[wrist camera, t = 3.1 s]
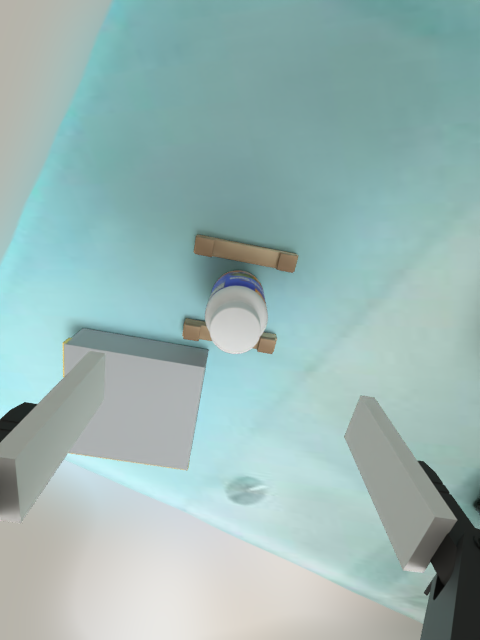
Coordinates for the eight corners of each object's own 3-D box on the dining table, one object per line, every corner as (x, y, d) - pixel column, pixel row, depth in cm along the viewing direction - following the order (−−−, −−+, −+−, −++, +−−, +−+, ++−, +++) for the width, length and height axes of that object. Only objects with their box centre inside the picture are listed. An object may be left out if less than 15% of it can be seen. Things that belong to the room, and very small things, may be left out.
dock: (81, 327, 34) (62, 343, 30) (209, 349, 35) (205, 367, 31) (80, 429, 39) (64, 453, 36) (192, 445, 40) (187, 471, 37)
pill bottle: (273, 287, 33) (286, 321, 23) (244, 327, 34) (246, 373, 25) (229, 258, 31) (225, 283, 22) (202, 301, 33) (187, 340, 24)
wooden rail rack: (197, 234, 31) (195, 236, 29) (296, 253, 31) (299, 256, 30) (184, 331, 34) (181, 338, 33) (272, 346, 35) (274, 354, 33)
